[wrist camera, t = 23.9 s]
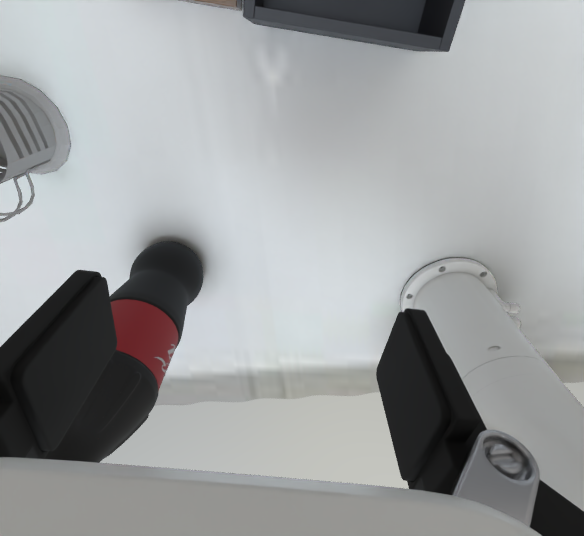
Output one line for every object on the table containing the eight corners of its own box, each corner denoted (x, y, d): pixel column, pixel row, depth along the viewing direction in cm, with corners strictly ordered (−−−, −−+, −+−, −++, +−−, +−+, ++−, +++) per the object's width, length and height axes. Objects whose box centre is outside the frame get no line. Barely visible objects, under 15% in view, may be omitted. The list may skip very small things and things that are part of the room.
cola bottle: (146, 287, 48) (-23, 557, 22) (138, 231, 43) (-86, 491, 18) (208, 292, 48) (111, 563, 23) (206, 238, 44) (83, 500, 18)
